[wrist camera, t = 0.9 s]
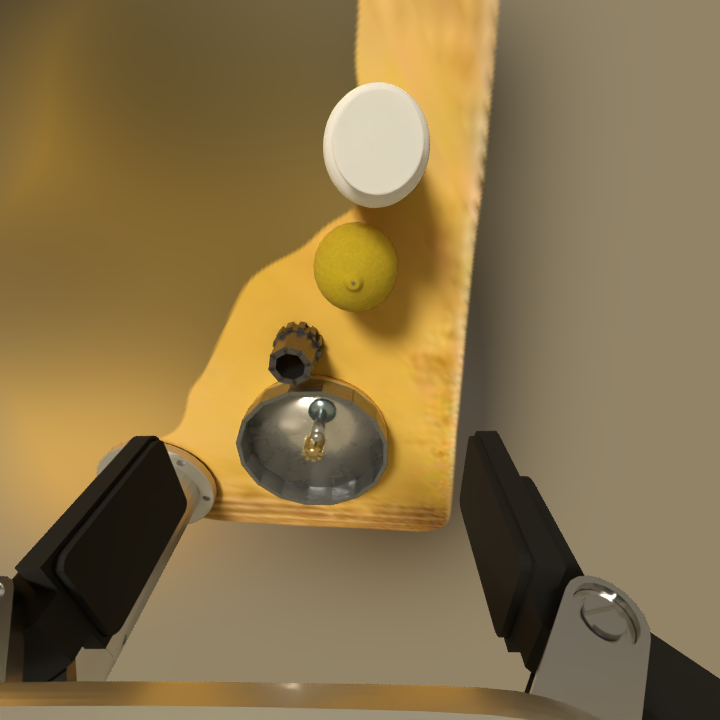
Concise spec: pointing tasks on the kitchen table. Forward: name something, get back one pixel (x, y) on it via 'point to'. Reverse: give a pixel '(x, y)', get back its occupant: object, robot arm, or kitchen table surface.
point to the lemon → (355, 267)
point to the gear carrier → (314, 441)
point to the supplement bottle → (376, 145)
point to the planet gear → (295, 353)
